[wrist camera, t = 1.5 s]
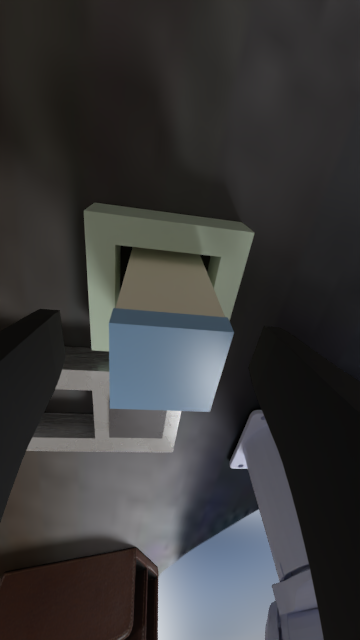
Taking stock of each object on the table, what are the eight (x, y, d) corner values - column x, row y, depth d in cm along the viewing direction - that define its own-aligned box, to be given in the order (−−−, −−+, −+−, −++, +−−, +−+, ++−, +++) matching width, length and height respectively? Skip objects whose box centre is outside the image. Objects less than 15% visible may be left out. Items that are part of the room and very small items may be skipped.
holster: (241, 222, 13) (254, 232, 11) (212, 337, 16) (219, 358, 15) (94, 202, 12) (83, 210, 10) (98, 328, 15) (91, 350, 14)
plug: (200, 252, 13) (234, 332, 7) (190, 310, 15) (209, 411, 9) (132, 245, 13) (108, 322, 7) (129, 305, 15) (110, 408, 9)
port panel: (185, 353, 17) (189, 379, 15) (171, 428, 21) (172, 456, 19) (-13, 341, 15) (-38, 368, 13) (14, 425, 20) (-2, 454, 18)
